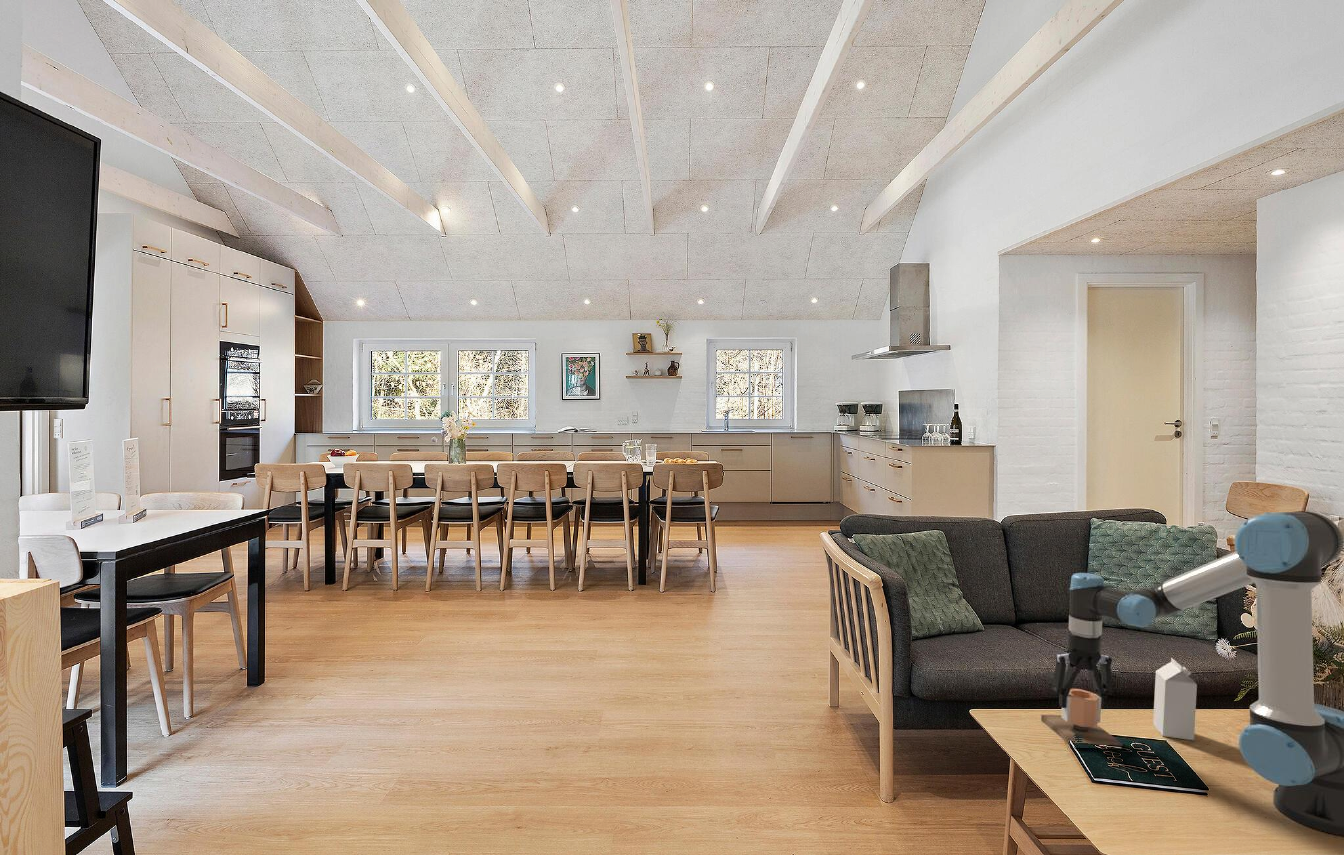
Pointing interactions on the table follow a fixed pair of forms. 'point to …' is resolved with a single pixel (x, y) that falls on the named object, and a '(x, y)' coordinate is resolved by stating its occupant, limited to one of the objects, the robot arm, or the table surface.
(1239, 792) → the table surface
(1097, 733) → the block
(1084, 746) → the table surface
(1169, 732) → the milk carton
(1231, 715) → the table surface
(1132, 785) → the table surface
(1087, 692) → the ring
